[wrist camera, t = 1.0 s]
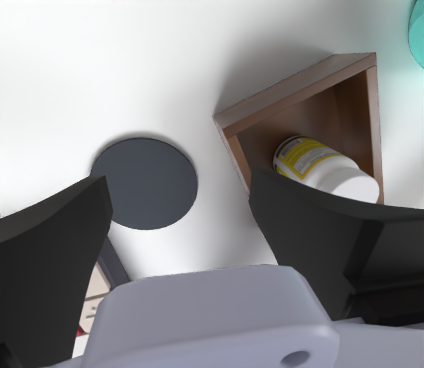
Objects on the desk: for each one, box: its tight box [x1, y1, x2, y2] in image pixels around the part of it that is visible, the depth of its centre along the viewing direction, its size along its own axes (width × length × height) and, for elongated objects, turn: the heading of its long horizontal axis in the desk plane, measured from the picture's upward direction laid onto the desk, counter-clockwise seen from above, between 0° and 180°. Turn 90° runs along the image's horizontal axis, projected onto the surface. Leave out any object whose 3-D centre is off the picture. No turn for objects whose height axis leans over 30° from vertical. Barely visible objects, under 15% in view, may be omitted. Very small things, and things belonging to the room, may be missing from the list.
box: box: [212, 52, 384, 205], centre depth 21 cm, size 15×12×4 cm
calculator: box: [72, 236, 130, 358], centre depth 25 cm, size 11×4×15 cm
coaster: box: [90, 138, 197, 230], centre depth 22 cm, size 10×10×1 cm
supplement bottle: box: [273, 135, 379, 203], centre depth 19 cm, size 5×5×8 cm
